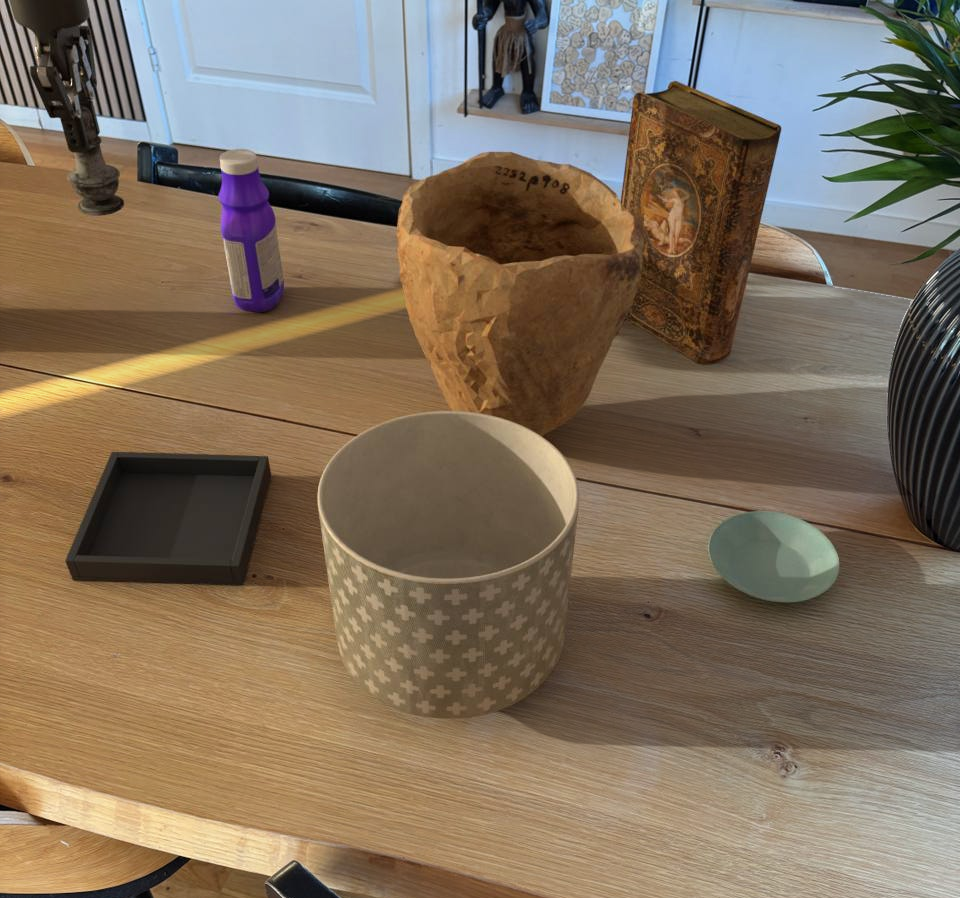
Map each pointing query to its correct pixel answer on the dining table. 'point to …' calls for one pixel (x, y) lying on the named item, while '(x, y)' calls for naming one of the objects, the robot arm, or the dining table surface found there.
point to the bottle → (249, 233)
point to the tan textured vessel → (517, 283)
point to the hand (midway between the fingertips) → (84, 142)
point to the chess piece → (95, 176)
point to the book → (695, 213)
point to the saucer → (773, 556)
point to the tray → (172, 519)
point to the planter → (449, 560)
